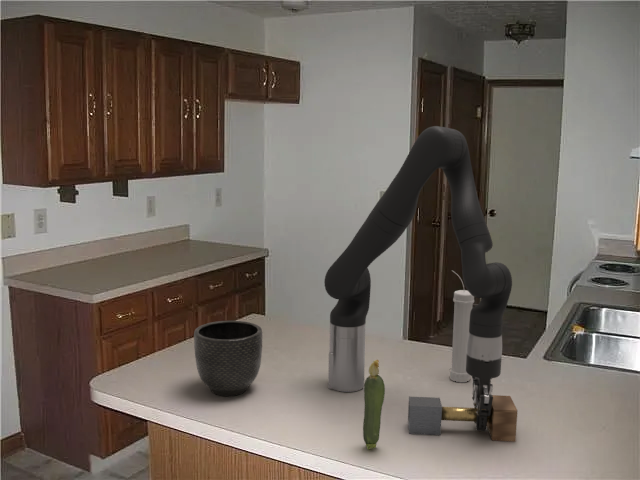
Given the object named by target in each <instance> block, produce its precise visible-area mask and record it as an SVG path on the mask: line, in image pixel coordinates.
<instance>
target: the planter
mask: <svg viewBox="0 0 640 480" xmlns="http://www.w3.org/2000/svg"><path fill="white" fill-rule="evenodd" d="M193 332H194V333H193V340H194V341H193V344H194V345H193V346H194V347H193V348H194V349H193V350H194V358H195V365H196V370H197V374H198V376H199V379H200V380H201V381H202V382H203V384H204V385H205V386H207V387H208V388H209V389H210V391H211V392H212V393H213V394H215V395H216V396H217V395H218V396H221V397H231V396H232V397H233V396H238V395H241V394H243V393H245V392H246V391H247V390H248V387H249V386H250V385H251V384H253V383H254V382H255V380H256V378H257V377H258V374H259V372H260V369H261V363H262V357H263V355H262V354H263V328H262V327H261V326H260V325H258V324H256V323H253V322H249V321H244V320H220V321H218V320H217V321H213V322H212V321H211V322H208V323H205V324H202V325H199V326H198V327H196V328H195V329H194V331H193Z"/></svg>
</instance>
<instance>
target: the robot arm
mask: <svg viewBox="0 0 640 480" xmlns="http://www.w3.org/2000/svg"><path fill="white" fill-rule="evenodd" d="M468 145H469V144H468V143H467V138H466V137H465V135H464V134H463V133H462V132H461V131H459V130H457V129H454V128H450V127H445V126H438V125H434V126H429V127H427V128H426V129H424V130H423V131H422V132H421V133H420V134H419V135H418V137H417V138H416V140H415V141H414V143H413V145H412V146H411V149H410V150H409V153H408V155H407V156H406V158H405V160H404V161H403V164H402V165H401V167H400V169H399V170H398V172H397V174H396V175H395V176H394V178H393V179H392V181H391V183H390V184H389V185H388V187H387V188H386V190H385V191H384V193H383V194H382V195H381V197H380V199H378V201H377V203H376V204H375V205H374V207H373V208H372V210H371V211H370V212H369V214H368V216H367V217H366V219H365V221H364V222H363V224H362V225H361V226H360V228H359V229H358V231H357V232H356V233H355V236H353V238H352V240H351V241H350V242H349V244H348V245H347V247H346V248H345V249H344V251H343V252H342V253H341V254H340V255H339V256H338V258H337V259H336V260H335V261H334V262H333V263H332V264H331V266H330V267H329V268H328V270H327V271H326V273H325V276H324V287H325V291H326V293H327V295H328V296H329V297H331V298H333V299H335V300H337V302H336V304H335V305H334V307H333V308H332V309H331V311H330V314H329V351H328V377H327V378H328V379H327V380H328V383H327V384H328V386H327V388H328V389H329V390H334V391H338V392H343V393H344V392H345V393H346V392H347V393H352V392H358V391H361V390H362V389H364V383H365V367H366V364H365V363H366V360H365V358H366V357H365V356H366V322H367V321H366V319H367V315H368V313H369V310H370V303H371V302H370V300H371V288H372V287H371V286H372V284H371V283H372V281H371V274H370V273H371V272H370V271H369V267H370V265H371V264H372V263H373V262H374V261H375V260H376V259H378V258H379V257H380V256H381V255H382V254H383V253H385V252H386V251H387V250H388V249H389V248H390V247H392V246H393V245H394V244H395V243H396V242H397V241H398V240H399V238H400V237H401V236H402V235H403V233H404V232H405V231H406V230H407V228H408V227H409V225H410V224H411V222H412V221H413V219H414V217H415V215H416V211H417V208H418V203H419V202H418V201H419V196H420V193H421V191H422V188H423V187H424V186H425V184H426V183H427V182H428V180H429V179H430V177H431V176H432V175H433V174H434V173H436V170H438V169H442V172H443V174H444V175H445V177H446V180H447V182H448V185H449V189H450V196H451V201H450V202H451V203H450V204H451V206H450V208H451V210H450V214H451V215H450V217H451V223H452V227H453V232H454V234H455V237H456V240H457V243H458V245H459V246H458V247H459V249H460V253H461V254H460V257H461V260H460V261H461V271H462V273H461V274H462V282H463V285H464V288H466V289H465V290H467V291H468V292H469V293H470V294H471V295H472V296H474V298H477V299H481V300H480V301H479V302H478V303H477V304H476V305H474V306H473V307H472V310H471V312H470V321H469V336H468V341H467V356H466V372H467V373H468V374H469V375H470V377H471V378H472V380H471V385H472V392H471V394H472V395H471V396H472V397H471V399H472V405H473V408H477V411H476V413H477V418H476V422H473V423H474V424H475V430H477V431H478V432H486V431H487V430H488V428H487V416H490V412H491V406H492V401H493V396H492V395H493V394H492V393H493V389H494V388H493V387H494V385H493V383H492V381H491V380H492V379H497V378H498V377H499V376H500V375H501V372H502V360H503V359H502V356H503V323H504V322H503V317H504V313H505V312H506V309H507V306H508V302H509V300H510V295H511V292H512V286H513V277H512V274H511V271H510V268H508V267H507V265H505V264H504V263H501V262H489V263H487V261H486V253H488V252H489V251H491V249H492V248H493V247H494V245H493V239H492V236H491V233H490V230H489V228H488V225H487V222H486V219H485V216H484V213H483V211H482V208H481V204H480V201H479V200H480V199H479V196H478V193H477V187H476V182H475V178H474V177H475V176H474V173H473V166H472V161H471V157H470V156H471V154H470V150H469V146H468ZM482 409H486V410H482Z"/></svg>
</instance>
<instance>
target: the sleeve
mask: <svg viewBox="0 0 640 480" xmlns="http://www.w3.org/2000/svg"><path fill="white" fill-rule="evenodd" d="M442 407H443V406H442V402H441V398H440V397H427V396H408V411H407V412H408V413H407V428H408V434H409V435H427V436H429V435H430V436H442V435H441V434H442V420H441V418H442Z"/></svg>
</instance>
